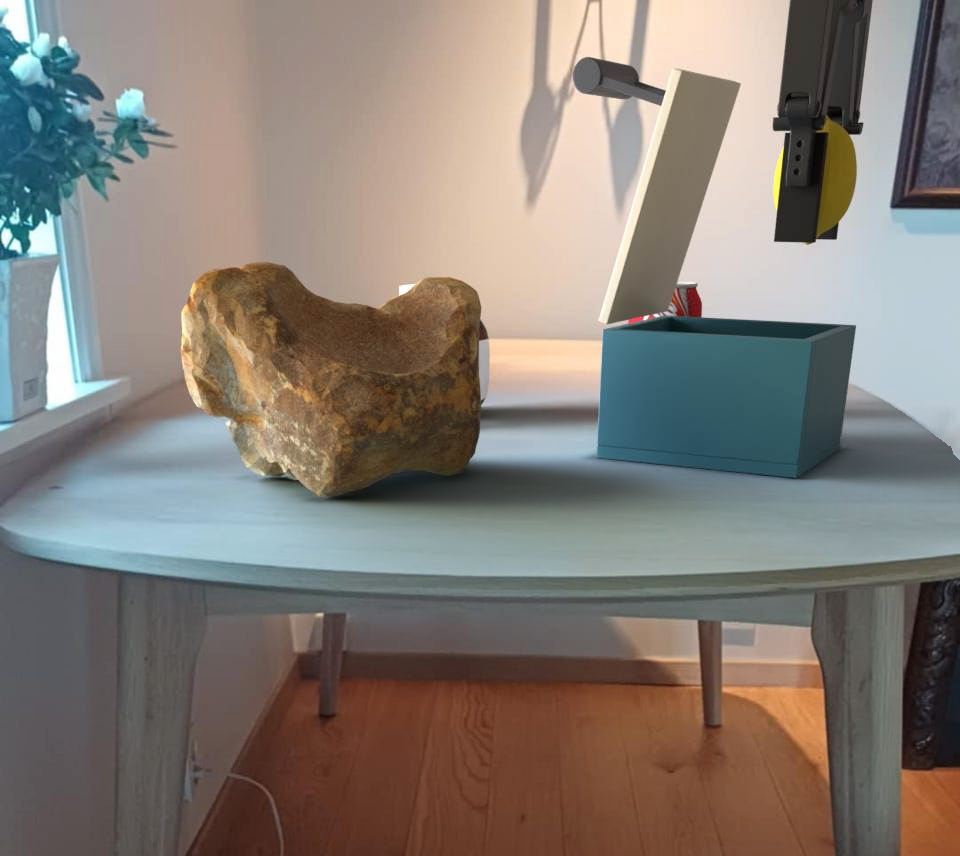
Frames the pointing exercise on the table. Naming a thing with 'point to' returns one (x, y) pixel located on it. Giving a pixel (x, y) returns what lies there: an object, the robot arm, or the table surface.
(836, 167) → the lemon
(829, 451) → the box
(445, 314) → the rough brown rock
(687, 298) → the soda can
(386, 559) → the table surface
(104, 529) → the table surface
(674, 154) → the cooler lid
